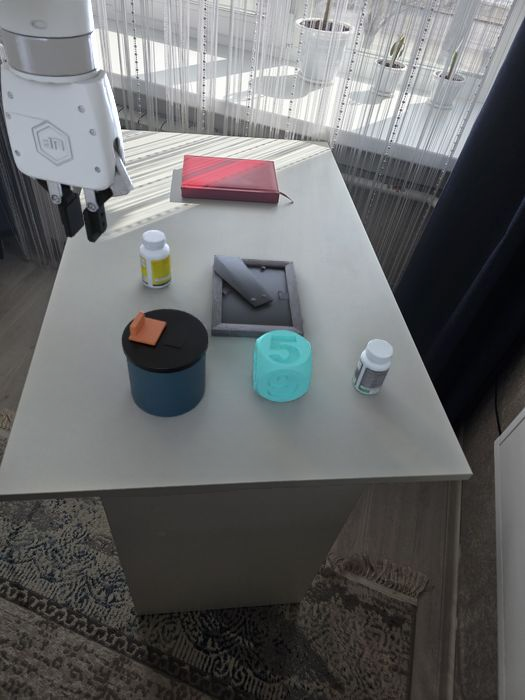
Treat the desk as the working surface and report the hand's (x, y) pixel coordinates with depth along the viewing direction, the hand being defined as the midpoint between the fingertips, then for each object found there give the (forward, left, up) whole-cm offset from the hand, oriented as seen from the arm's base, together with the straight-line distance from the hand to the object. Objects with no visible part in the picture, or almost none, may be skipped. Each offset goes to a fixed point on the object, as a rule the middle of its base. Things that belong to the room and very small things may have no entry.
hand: (86, 232), depth 54 cm
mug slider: (+6, 0, -14) cm, 15 cm away
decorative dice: (+25, +6, -25) cm, 36 cm away
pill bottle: (+39, +10, -25) cm, 48 cm away
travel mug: (+9, 0, -25) cm, 27 cm away
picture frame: (+17, +25, -25) cm, 39 cm away
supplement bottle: (-2, +24, -25) cm, 35 cm away
